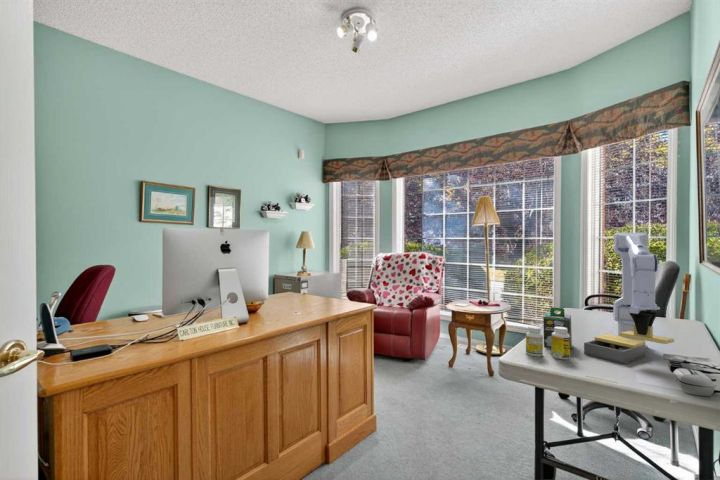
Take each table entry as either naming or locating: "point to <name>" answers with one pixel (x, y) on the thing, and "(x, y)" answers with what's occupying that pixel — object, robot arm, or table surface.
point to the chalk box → (555, 325)
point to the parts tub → (615, 348)
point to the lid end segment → (647, 336)
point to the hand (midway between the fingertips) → (643, 334)
